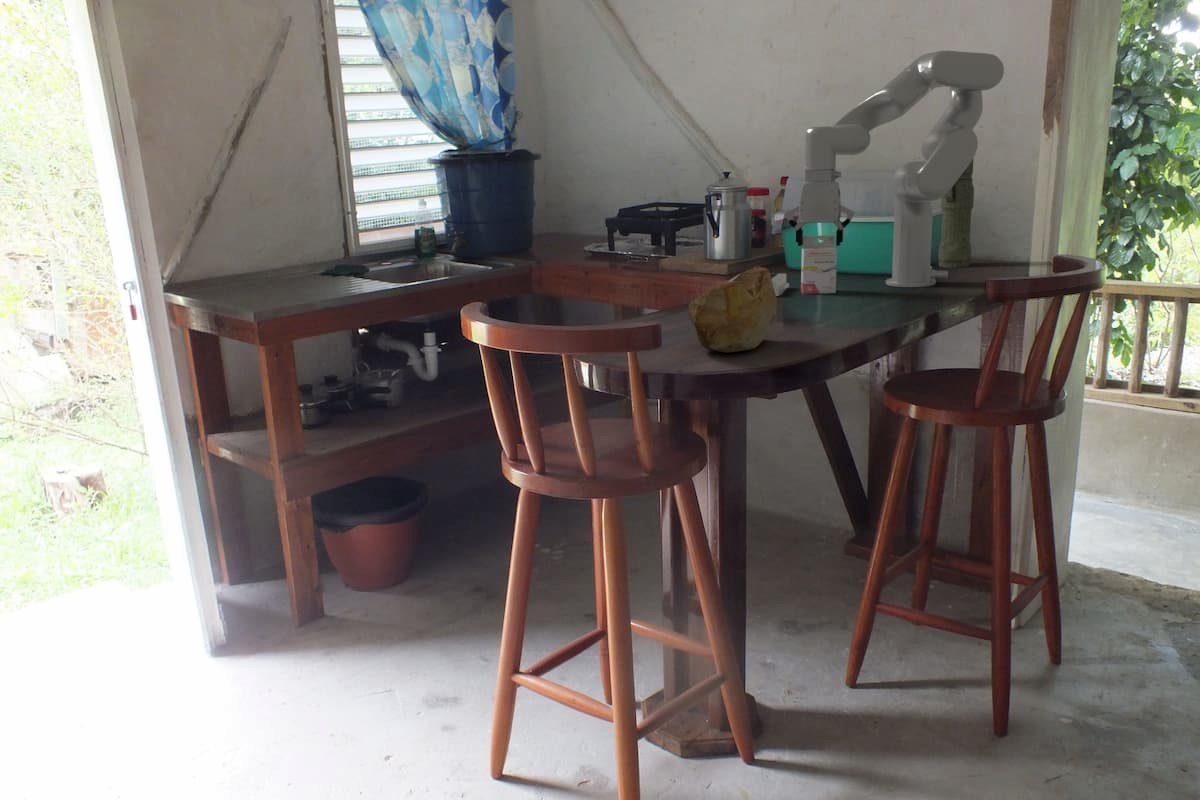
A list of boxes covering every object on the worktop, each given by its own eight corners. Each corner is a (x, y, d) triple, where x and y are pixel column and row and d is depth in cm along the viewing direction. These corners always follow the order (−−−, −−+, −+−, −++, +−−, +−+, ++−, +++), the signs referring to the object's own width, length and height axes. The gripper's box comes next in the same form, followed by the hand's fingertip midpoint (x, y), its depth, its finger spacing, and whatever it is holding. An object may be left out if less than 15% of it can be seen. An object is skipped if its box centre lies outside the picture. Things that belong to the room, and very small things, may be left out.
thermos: (932, 270, 282) (937, 146, 273) (944, 265, 291) (950, 145, 282) (963, 271, 277) (970, 145, 268) (974, 266, 286) (981, 144, 277)
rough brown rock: (713, 332, 207) (712, 262, 203) (787, 337, 198) (787, 264, 194) (662, 353, 188) (660, 277, 184) (741, 360, 179) (741, 280, 175)
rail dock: (788, 288, 261) (789, 273, 260) (778, 297, 247) (778, 281, 246) (738, 287, 266) (737, 273, 265) (725, 296, 252) (724, 281, 251)
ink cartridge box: (802, 295, 249) (803, 237, 245) (800, 292, 254) (801, 235, 250) (836, 294, 248) (837, 236, 244) (833, 291, 253) (834, 234, 249)
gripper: (857, 175, 244) (855, 243, 248) (788, 177, 250) (788, 244, 254) (853, 176, 237) (851, 247, 241) (783, 178, 243) (782, 247, 247)
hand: (819, 245), depth 248 cm, fingers open, 9 cm apart
